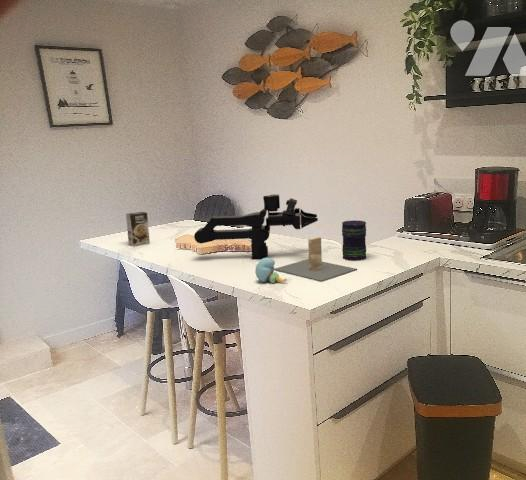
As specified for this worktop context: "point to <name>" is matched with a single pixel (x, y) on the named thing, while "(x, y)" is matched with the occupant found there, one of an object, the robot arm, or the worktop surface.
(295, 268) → the mat
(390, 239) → the worktop surface
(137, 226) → the coffee box
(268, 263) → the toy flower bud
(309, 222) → the robot arm
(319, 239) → the birch tile
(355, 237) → the storage jar
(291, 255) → the worktop surface
